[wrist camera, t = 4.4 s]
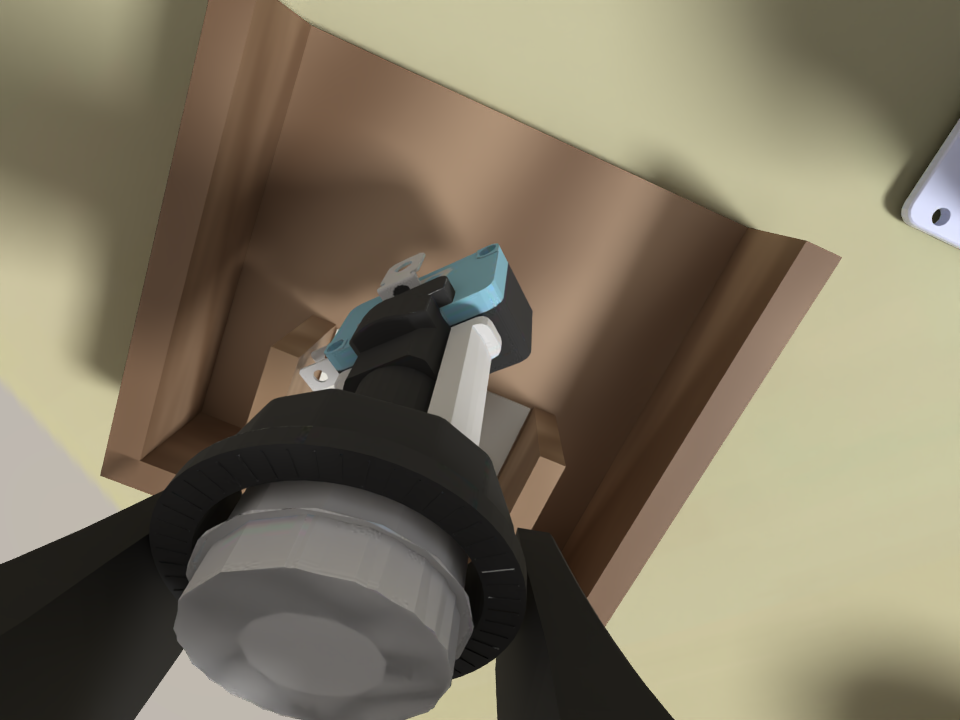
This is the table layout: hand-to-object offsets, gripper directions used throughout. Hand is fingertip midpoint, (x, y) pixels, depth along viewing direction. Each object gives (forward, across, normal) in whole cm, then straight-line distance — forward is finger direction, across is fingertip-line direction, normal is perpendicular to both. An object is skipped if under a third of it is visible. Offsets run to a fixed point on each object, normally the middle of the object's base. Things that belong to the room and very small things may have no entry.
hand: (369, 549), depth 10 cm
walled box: (+10, 0, -2) cm, 10 cm away
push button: (+7, 0, -3) cm, 7 cm away
